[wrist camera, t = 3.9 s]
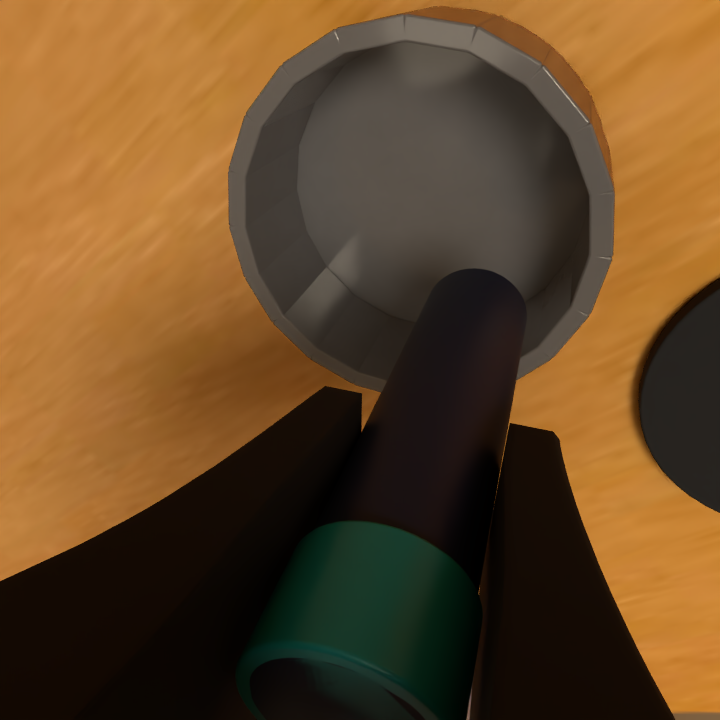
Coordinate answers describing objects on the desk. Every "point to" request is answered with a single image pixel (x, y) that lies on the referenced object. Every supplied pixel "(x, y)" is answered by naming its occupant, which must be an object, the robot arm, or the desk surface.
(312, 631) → the flashlight
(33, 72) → the desk surface
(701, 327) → the coaster
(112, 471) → the desk surface
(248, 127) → the pot
